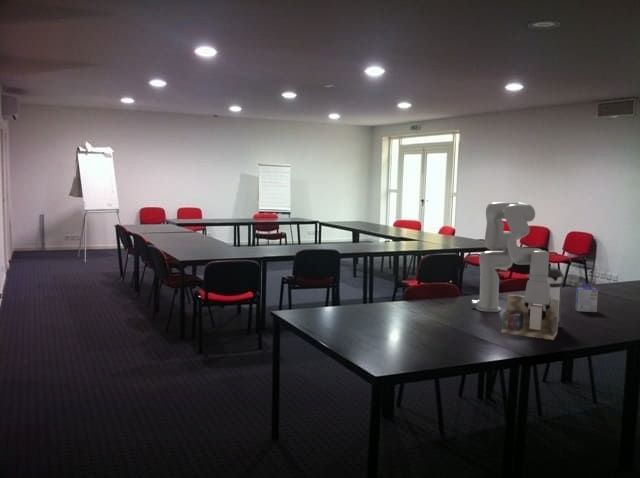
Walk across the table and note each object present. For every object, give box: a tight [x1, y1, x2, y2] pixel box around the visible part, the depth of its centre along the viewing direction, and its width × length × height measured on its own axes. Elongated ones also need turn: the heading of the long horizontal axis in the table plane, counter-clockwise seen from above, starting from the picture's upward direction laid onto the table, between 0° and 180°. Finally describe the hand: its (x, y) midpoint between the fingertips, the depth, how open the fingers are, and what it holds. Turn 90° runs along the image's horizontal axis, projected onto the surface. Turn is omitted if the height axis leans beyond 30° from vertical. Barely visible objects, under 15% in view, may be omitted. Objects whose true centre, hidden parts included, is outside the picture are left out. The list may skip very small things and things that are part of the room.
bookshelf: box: [500, 294, 559, 341], centre depth 244 cm, size 22×12×16 cm, turn 59°
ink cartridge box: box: [574, 283, 599, 313], centre depth 288 cm, size 10×6×14 cm, turn 78°
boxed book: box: [529, 304, 543, 330], centre depth 242 cm, size 4×8×10 cm, turn 149°
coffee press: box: [548, 262, 564, 328], centre depth 260 cm, size 17×16×30 cm
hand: (536, 318), depth 242 cm, fingers closed on boxed book, 4 cm apart
